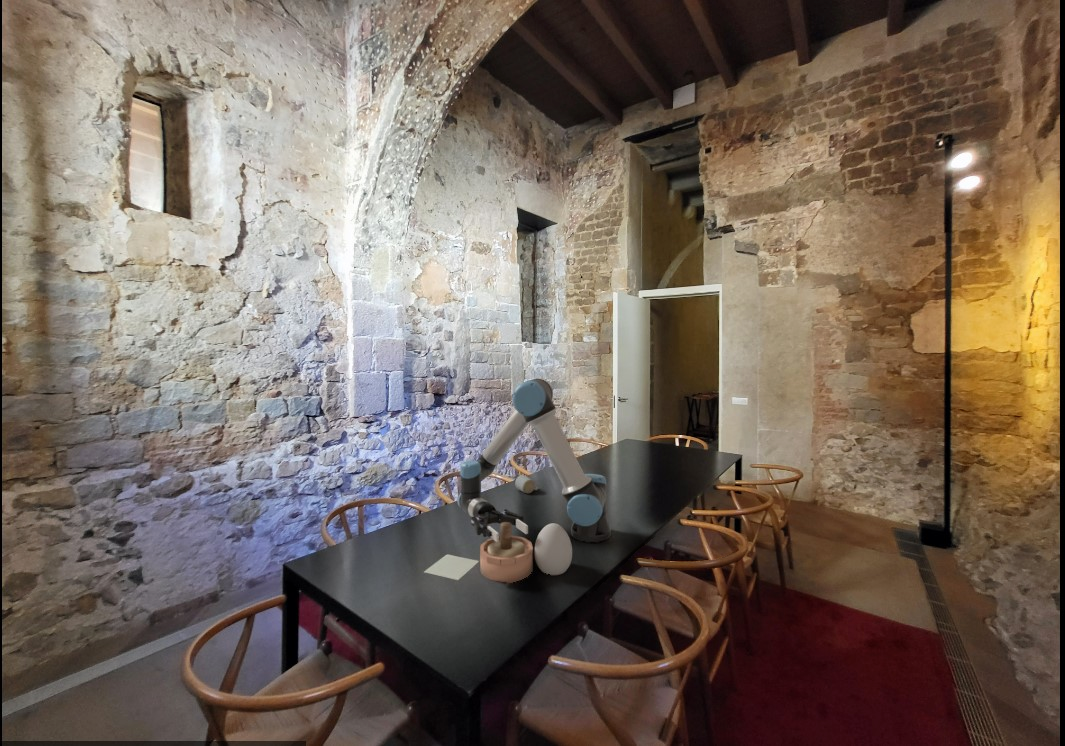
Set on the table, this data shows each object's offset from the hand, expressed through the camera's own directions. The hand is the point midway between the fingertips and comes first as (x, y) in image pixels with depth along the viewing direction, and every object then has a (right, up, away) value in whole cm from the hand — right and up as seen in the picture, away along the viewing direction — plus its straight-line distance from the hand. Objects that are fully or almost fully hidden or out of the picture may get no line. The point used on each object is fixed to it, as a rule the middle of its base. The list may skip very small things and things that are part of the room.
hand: (512, 533), depth 139 cm
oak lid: (-2, -7, +4) cm, 9 cm away
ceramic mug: (+4, -9, +82) cm, 82 cm away
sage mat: (-20, -13, +6) cm, 25 cm away
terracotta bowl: (-2, -13, +4) cm, 14 cm away
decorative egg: (+13, -13, +4) cm, 19 cm away
